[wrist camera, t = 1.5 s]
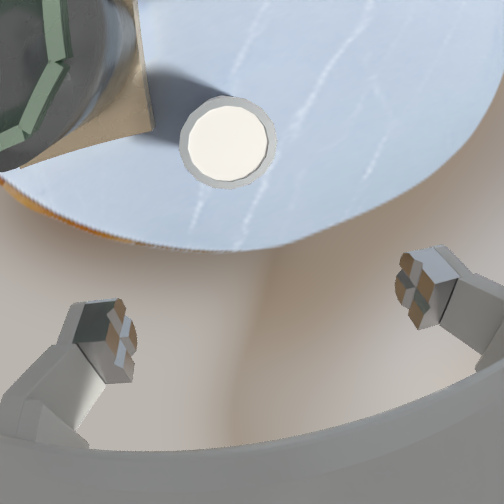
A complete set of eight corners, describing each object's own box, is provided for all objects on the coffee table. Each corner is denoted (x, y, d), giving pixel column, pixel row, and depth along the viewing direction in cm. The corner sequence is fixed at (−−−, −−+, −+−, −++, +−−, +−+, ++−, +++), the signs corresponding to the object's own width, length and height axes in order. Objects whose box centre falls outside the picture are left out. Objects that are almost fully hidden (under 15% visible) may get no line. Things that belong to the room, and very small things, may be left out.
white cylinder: (189, 164, 28) (184, 195, 22) (181, 93, 24) (173, 102, 18) (262, 157, 29) (278, 185, 23) (260, 86, 25) (276, 94, 19)
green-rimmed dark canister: (2, 5, 14) (-85, 4, 3) (133, -50, 15) (87, -110, 4) (29, 161, 24) (-45, 227, 14) (155, 126, 25) (119, 177, 15)
